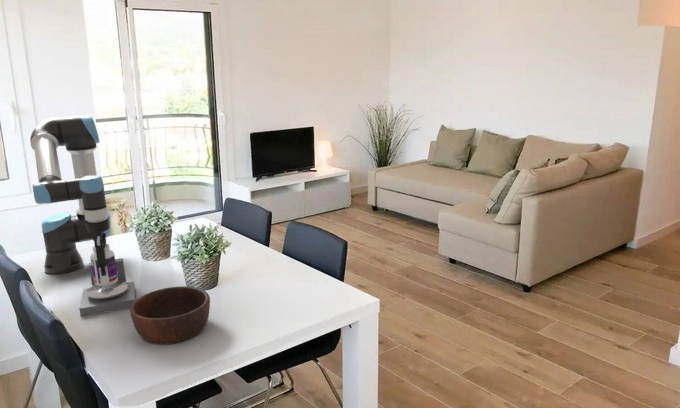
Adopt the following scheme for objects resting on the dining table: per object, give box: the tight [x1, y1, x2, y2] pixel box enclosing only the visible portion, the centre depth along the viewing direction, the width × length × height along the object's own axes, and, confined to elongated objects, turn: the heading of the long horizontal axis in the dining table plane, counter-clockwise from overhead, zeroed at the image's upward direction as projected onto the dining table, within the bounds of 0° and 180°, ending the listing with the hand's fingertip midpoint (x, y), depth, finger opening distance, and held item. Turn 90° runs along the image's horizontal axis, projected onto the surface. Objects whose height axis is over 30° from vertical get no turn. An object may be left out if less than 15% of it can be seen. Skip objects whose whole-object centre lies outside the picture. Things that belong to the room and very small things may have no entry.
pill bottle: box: [89, 243, 118, 286], centre depth 196 cm, size 8×8×14 cm
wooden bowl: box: [129, 286, 211, 346], centre depth 176 cm, size 25×25×10 cm
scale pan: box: [87, 281, 128, 299], centre depth 198 cm, size 14×14×2 cm
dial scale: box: [78, 257, 136, 317], centre depth 199 cm, size 21×18×12 cm
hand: (105, 278), depth 197 cm, fingers closed on pill bottle, 8 cm apart
